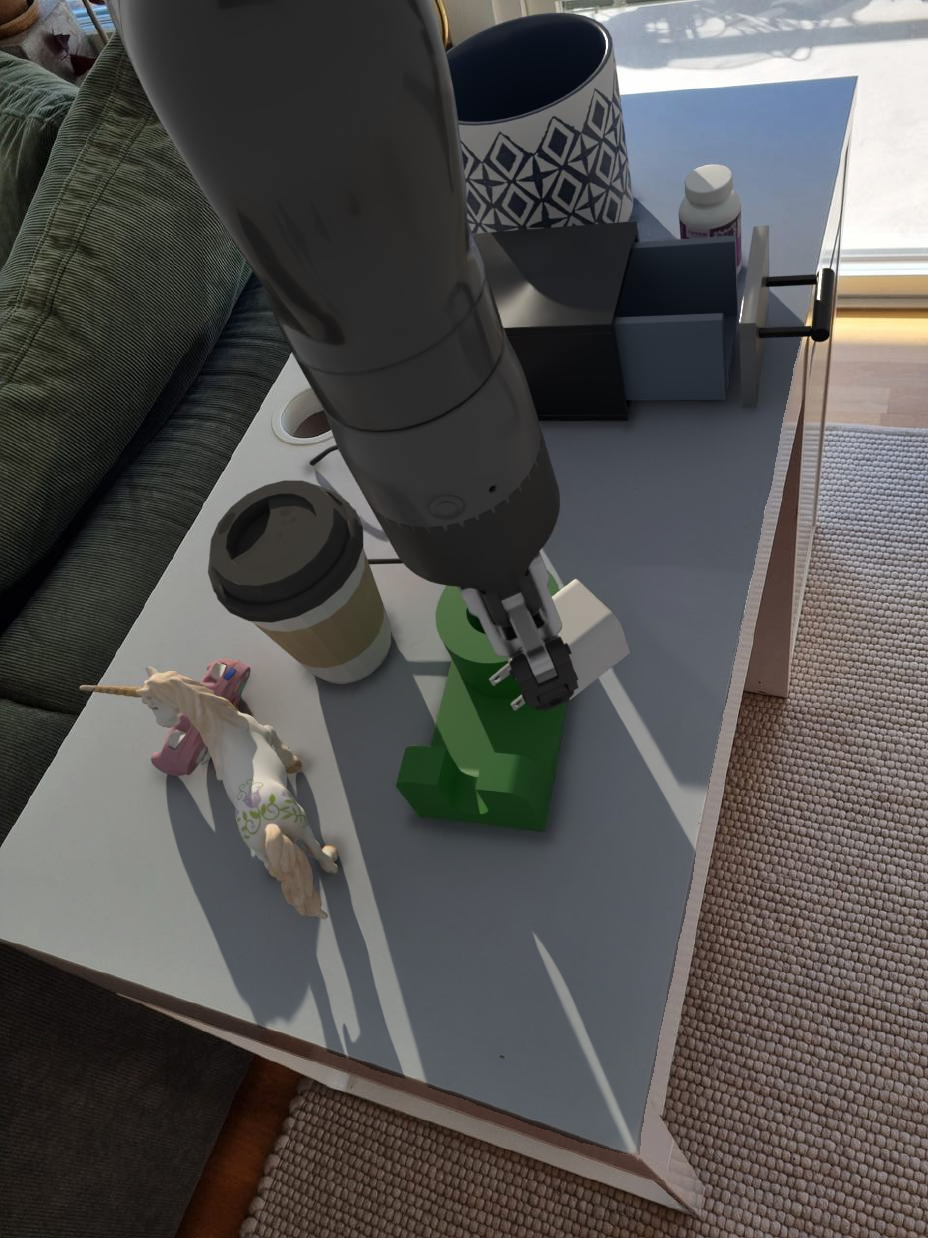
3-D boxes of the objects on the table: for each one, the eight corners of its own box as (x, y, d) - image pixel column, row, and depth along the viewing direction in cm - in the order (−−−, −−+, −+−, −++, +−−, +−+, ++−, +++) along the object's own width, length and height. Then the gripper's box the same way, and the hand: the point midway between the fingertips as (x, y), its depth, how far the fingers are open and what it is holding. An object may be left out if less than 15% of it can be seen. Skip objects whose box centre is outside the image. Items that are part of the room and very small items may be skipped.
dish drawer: (832, 310, 80) (839, 219, 73) (824, 407, 75) (830, 319, 68) (616, 319, 87) (602, 236, 80) (594, 409, 81) (577, 329, 74)
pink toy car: (200, 795, 73) (192, 774, 67) (148, 769, 73) (134, 746, 67) (263, 688, 77) (260, 658, 71) (213, 664, 77) (206, 632, 71)
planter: (553, 152, 106) (523, -4, 93) (671, 201, 95) (656, 33, 82) (431, 243, 103) (382, 94, 89) (540, 304, 92) (502, 146, 79)
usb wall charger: (631, 657, 51) (619, 619, 48) (532, 736, 50) (513, 702, 47) (586, 613, 54) (571, 574, 50) (491, 688, 53) (470, 653, 50)
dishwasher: (649, 321, 87) (637, 220, 78) (627, 421, 81) (611, 324, 72) (500, 326, 92) (473, 232, 83) (469, 421, 86) (436, 330, 77)
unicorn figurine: (247, 704, 75) (160, 613, 64) (403, 857, 64) (331, 779, 54) (178, 769, 73) (77, 686, 62) (328, 938, 63) (237, 873, 52)
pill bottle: (686, 295, 87) (678, 202, 80) (680, 259, 90) (672, 166, 83) (746, 283, 86) (744, 188, 78) (738, 247, 89) (736, 152, 81)
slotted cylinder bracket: (472, 602, 75) (450, 554, 69) (584, 606, 72) (570, 556, 66) (419, 817, 66) (390, 780, 60) (544, 831, 63) (525, 794, 57)
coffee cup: (322, 577, 80) (243, 458, 68) (439, 600, 75) (377, 477, 63) (260, 691, 75) (164, 584, 63) (382, 723, 71) (303, 615, 59)
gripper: (604, 533, 32) (657, 743, 46) (477, 306, 41) (554, 541, 55) (406, 620, 33) (517, 804, 46) (320, 378, 41) (436, 593, 55)
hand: (537, 661), depth 50 cm, fingers closed on usb wall charger, 4 cm apart
